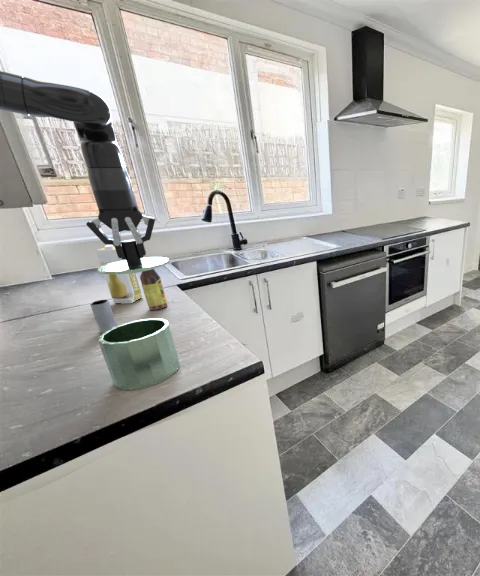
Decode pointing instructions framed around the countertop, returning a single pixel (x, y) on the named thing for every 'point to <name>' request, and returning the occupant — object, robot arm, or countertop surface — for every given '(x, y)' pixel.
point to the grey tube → (103, 315)
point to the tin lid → (132, 261)
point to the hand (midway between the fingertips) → (133, 258)
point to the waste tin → (139, 353)
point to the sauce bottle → (153, 290)
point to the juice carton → (119, 278)
